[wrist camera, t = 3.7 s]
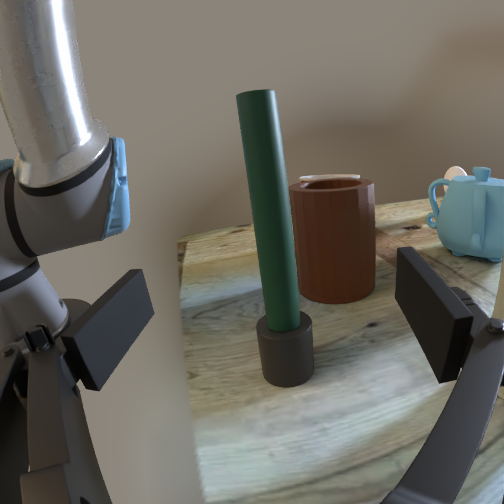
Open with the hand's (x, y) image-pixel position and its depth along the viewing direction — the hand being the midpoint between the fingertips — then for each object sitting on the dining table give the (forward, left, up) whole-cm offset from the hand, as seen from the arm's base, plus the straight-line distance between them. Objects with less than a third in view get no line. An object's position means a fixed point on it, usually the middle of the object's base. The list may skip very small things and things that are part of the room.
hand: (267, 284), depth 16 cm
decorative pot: (+32, +30, -12) cm, 46 cm away
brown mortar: (+6, +23, -12) cm, 27 cm away
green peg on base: (0, +7, -12) cm, 14 cm away
